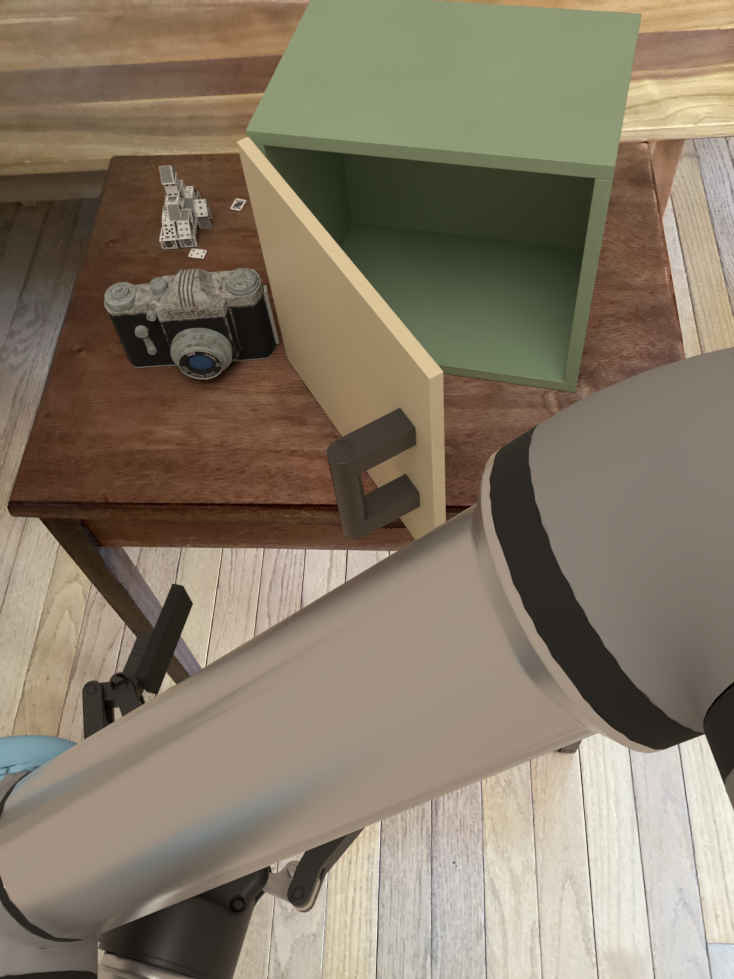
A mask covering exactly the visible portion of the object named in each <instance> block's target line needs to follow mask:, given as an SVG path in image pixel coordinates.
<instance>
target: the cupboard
mask: <svg viewBox="0 0 734 979" xmlns="http://www.w3.org/2000/svg"><path fill="white" fill-rule="evenodd" d="M641 20H642V13H637V12H622V11H609V10H608V11H607V10H606V11H605V10H592V9H591V10H590V9H578V8H577V9H575V8H559V7H545V6H544V7H543V6H529V5H527V6H526V5H513V4H497V3H481V2H480V3H479V2H466V1H452V0H451V1H449V0H309V2H308V4H307V6H306V8H305V10H304V12H303V14H302V16H301V18H300V20H299V22H298V24H297V26H296V28H295V30H294V31H293V32H294V33H293V34H292V36H291V38H290V40H289V42H288V44H287V46H286V48H285V50H284V52H283V54H282V55H281V56H282V57H281V58H280V60H279V62H278V64H277V66H276V68H275V70H274V72H273V75H272V76H271V78H270V81H269V82H268V85H267V86H266V88H265V90H264V93H263V94H262V96H261V98H260V101H258V102H259V103H258V104H257V107H256V108H255V111H254V112H253V114H252V116H251V118H250V120H249V123H248V125H247V127H246V129H245V134H246V137H249V138H250V139H251V140H252V141H253V143H254V144H255V145H256V146H257V148H258V149H259V150H260V151H261V152H262V154H263V155H264V156H265V157H266V158H267V160H268V161H269V162H270V163H271V164H272V166H273V167H274V168H275V169H276V170H277V172H278V173H279V174H280V175H281V176H282V178H283V179H284V180H285V181H286V183H287V184H288V185H289V186H290V187H291V189H292V190H293V191H294V192H295V193H296V195H297V196H298V197H299V198H300V199H301V201H302V202H303V203H304V204H305V205H306V207H307V208H308V209H309V210H310V211H311V213H312V214H313V215H314V216H315V217H316V219H317V220H318V221H319V222H320V224H321V225H322V226H323V227H324V228H325V230H326V231H327V232H328V233H329V234H330V236H331V237H332V238H333V239H334V240H335V242H336V243H337V244H338V245H339V246H340V248H341V249H342V250H343V251H344V252H345V254H346V255H347V256H348V257H349V258H350V260H351V261H352V262H353V263H354V265H355V266H356V267H357V268H358V269H359V271H360V272H361V273H362V274H363V275H364V277H365V278H366V279H367V280H368V281H369V283H370V284H371V285H372V286H373V287H374V289H375V290H376V291H377V292H378V293H379V295H380V296H381V297H382V298H383V300H384V301H385V302H386V303H387V304H388V306H389V307H390V308H391V309H392V310H393V312H394V313H395V314H396V315H397V316H398V318H399V319H400V320H401V321H402V322H403V324H404V325H405V326H406V327H407V328H408V330H409V331H410V332H411V333H412V334H413V336H414V337H415V338H416V339H417V341H418V342H419V343H420V344H421V345H422V347H423V348H424V349H425V350H426V351H427V353H428V354H429V355H430V356H431V357H432V359H433V360H434V361H435V362H436V363H437V365H438V366H439V367H440V368H441V369H442V371H443V375H444V374H445V375H452V376H459V377H466V378H472V379H479V380H487V381H493V382H498V383H499V382H500V383H506V384H514V385H521V386H527V387H534V388H542V389H549V390H555V391H561V392H569V393H577V386H578V382H579V381H578V380H579V375H580V370H581V364H582V358H583V352H584V348H585V346H584V345H585V341H586V335H587V331H588V330H587V329H588V325H589V317H590V313H591V306H592V300H593V295H594V290H595V284H596V278H597V273H598V267H599V261H600V257H601V256H600V255H601V251H602V244H603V238H604V233H605V227H606V221H607V215H608V210H609V205H610V199H611V193H612V186H613V181H614V176H615V170H616V164H617V158H618V153H619V147H620V141H621V135H622V130H623V125H624V118H625V114H626V113H625V112H626V108H627V102H628V97H629V96H628V95H629V90H630V84H631V83H630V82H631V78H632V72H633V67H634V61H635V55H636V49H637V44H638V38H639V31H640V26H641Z"/></svg>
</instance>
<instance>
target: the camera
mask: <svg viewBox="0 0 734 979" xmlns="http://www.w3.org/2000/svg"><path fill="white" fill-rule="evenodd" d="M103 304H104V308H105V310H106V312H107V315H108V317H109V319H110V321H111V324H112V325H113V328H114V330H115V332H116V334H117V336H118V339H119V341H120V343H121V346H122V347H123V350H124V351H125V354H126V357H127V359H128V361H129V363H130V364H131V366H132V367H133V368H135V369H139V368H140V369H141V368H143V369H144V368H156V367H170V366H171V367H172V366H173V367H174V366H177V368H179V370H180V371H181V372H182V373H183V374H184V375H185V376H187V377H189V378H192V379H195V380H204V381H205V380H211V379H214V378H216V377H218V376H219V375H220V374H221V373H222V372H224V371H225V370H227V369H228V367H230V365H231V363H233V362H242V361H243V362H244V361H255V360H267V359H269V358H270V357H272V355H273V354H274V352H275V351H276V349H277V345H280V338H279V334H278V329H277V325H276V321H275V316H274V312H273V309H272V304H271V299H270V295H269V292H268V287H267V285H266V284H265V285H264V284H263V282H262V278H261V276H260V274H259V272H258V271H257V270H255V269H254V268H248V267H238V268H236V269H233V270H221V271H220V270H219V271H208V270H206V269H201V268H189V269H188V268H187V269H179V271H178V272H177V273H176V274H167V275H163V276H162V277H161V276H157V277H154V278H152V279H151V280H150V282H148V283H140V284H133V283H130V282H128V281H119V282H116V283H114V284H112V285H110V286H109V287H108V288H107V289H106V290H105V292H104V300H103Z"/></svg>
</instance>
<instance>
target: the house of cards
mask: <svg viewBox="0 0 734 979" xmlns="http://www.w3.org/2000/svg"><path fill="white" fill-rule="evenodd" d="M158 172H159V176H160V183H161V185H163V188H164V190H165V194H166V195H165V196H164V204H163V207H162V213H161V226H162V227H161V228H160V232H159V238H158V242H159V245H160V247H161V250H172V249H177V250H179V249H182V248H191V249H190V251H189V253H188V254H187V258H192V259H202V260H204V259H205V257H206V254H207V253H208V249H202V248H194V247H198V243H197V233H198V227H199V229H212V224H211V220H212V219H213V216H212V212H211V209H210V208H211V207H210V203H209V201H208V200H207V199H206V198H202V196H201V194H200V191H199V190H198V191H197V189H196V188H195V187H194V185H186V184H185V182H184V180H183V179H179V177H178V171H177V170H175V168H174V167H173V165H172V164H170V165H169V164H168V165H159V166H158ZM247 201H248V200H247V199H242V198H238V197H237V198H235V199H234V201H233V202H232V205H231V206H230V207H229V210H232V211H239V212H241V211H242V209H243V208H244V205H245V204H246V203H247ZM210 219H211V220H210Z"/></svg>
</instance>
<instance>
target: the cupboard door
mask: <svg viewBox="0 0 734 979" xmlns="http://www.w3.org/2000/svg"><path fill="white" fill-rule="evenodd" d="M236 146H237V149H238V154H239V159H240V162H241V166H242V171H243V176H244V179H245V184H246V188H247V192H248V196H249V201H250V205H251V210H252V213H253V214H252V215H253V218H254V222H255V228H256V230H257V235H258V239H259V244H260V247H261V252H262V256H263V261H264V266H265V269H266V273H267V277H268V282H269V287H270V290H271V296H272V299H273V304H274V308H275V313H276V316H277V321H278V324H279V329H280V333H281V334H280V335H281V338H282V341H283V346H284V351H285V355H286V359H287V361H288V362H289V364H290V365H291V366H292V368H293V369H294V371H295V372H296V373H297V375H298V376H299V378H300V379H301V381H302V382H303V384H304V385H305V386H306V387H307V389H308V390H309V392H310V394H312V396H313V398H314V399H315V401H316V402H317V403H318V405H319V406H320V407H321V409H322V411H323V412H324V413H325V415H326V417H328V419H329V420H330V422H331V423H332V424H333V426H334V427H335V429H336V430H337V432H338V433H339V435H340V436H341V437H339V438H338V439H336V440H333V441H332V442H330V443H329V445H328V446H327V449H326V457H327V462H328V463H327V464H328V468H329V472H330V476H331V482H332V486H333V492H334V496H335V502H336V505H337V506H336V507H337V510H338V511H337V512H338V515H339V520H340V524H341V525H340V526H341V529H342V533H343V535H344V536H345V537H346V538H348V539H350V540H360V539H363V538H364V537H366V536H368V535H370V534H372V533H374V532H376V531H377V530H379V529H381V528H383V527H385V526H387V525H388V524H390V523H392V522H394V521H396V520H397V519H400V521H401V522H402V524H403V525H404V526H405V528H406V529H407V531H408V532H409V533H410V535H411V537H412V538H413V539H414V541H415V540H416V539H418V538H420V537H421V536H423V535H425V534H426V533H428V532H430V531H431V530H433V529H435V528H436V527H438V526H439V525H441V524H443V523H444V522H446V521H447V510H446V506H447V505H446V504H447V503H446V500H447V499H446V461H445V460H446V450H445V448H446V446H445V445H446V444H445V397H444V396H445V393H444V392H445V389H444V385H445V384H444V373H443V371H442V369H441V368H440V367H439V366H438V365H437V363H436V362H435V361H434V360H433V359H432V357H431V356H430V355H429V354H428V353H427V351H426V350H425V349H424V348H423V347H422V345H421V344H420V343H419V342H418V341H417V339H416V338H415V337H414V336H413V334H412V333H411V332H410V331H409V330H408V328H407V327H406V326H405V325H404V324H403V322H402V321H401V320H400V319H399V318H398V316H397V315H396V314H395V313H394V312H393V310H392V309H391V308H390V307H389V306H388V304H387V303H386V302H385V301H384V300H383V298H382V297H381V296H380V295H379V293H378V292H377V291H376V290H375V289H374V287H373V286H372V285H371V284H370V283H369V281H368V280H367V279H366V278H365V277H364V275H363V274H362V273H361V272H360V271H359V269H358V268H357V267H356V266H355V265H354V263H353V262H352V261H351V260H350V258H349V257H348V256H347V255H346V254H345V252H344V251H343V250H342V249H341V248H340V246H339V245H338V244H337V243H336V242H335V240H334V239H333V238H332V237H331V236H330V234H329V233H328V232H327V231H326V230H325V228H324V227H323V226H322V225H321V224H320V222H319V221H318V220H317V219H316V217H315V216H314V215H313V214H312V213H311V211H310V210H309V209H308V208H307V207H306V205H305V204H304V203H303V202H302V201H301V199H300V198H299V197H298V196H297V195H296V193H295V192H294V191H293V190H292V189H291V187H290V186H289V185H288V184H287V183H286V181H285V180H284V179H283V178H282V176H281V175H280V174H279V173H278V172H277V170H276V169H275V168H274V167H273V166H272V164H271V163H270V162H269V161H268V160H267V158H266V157H265V156H264V155H263V154H262V152H261V151H260V150H259V149H258V148H257V146H256V145H255V144H254V143H253V141H252V140H251V139H250V138H249V137H247V136H246V137H244V138H242V139H240V140H237V141H236ZM365 472H367V474H368V476H369V477H370V478H371V480H372V481H373V483H374V484H375V485H376V487H377V488H375V489H373V490H372V491H370V492H368V493H366V494H365V491H364V484H363V478H362V474H363V473H365Z"/></svg>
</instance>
